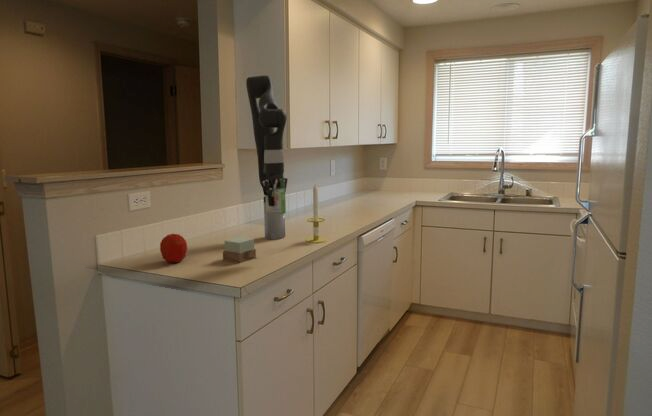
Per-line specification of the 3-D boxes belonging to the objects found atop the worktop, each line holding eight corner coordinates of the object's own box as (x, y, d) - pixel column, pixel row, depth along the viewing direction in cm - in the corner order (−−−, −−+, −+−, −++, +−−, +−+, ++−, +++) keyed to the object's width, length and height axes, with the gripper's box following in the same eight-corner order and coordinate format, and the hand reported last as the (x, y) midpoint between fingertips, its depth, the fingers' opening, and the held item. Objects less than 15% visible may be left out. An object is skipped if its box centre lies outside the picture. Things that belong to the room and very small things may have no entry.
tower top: (239, 246, 187) (239, 237, 187) (254, 249, 183) (253, 239, 182) (225, 250, 181) (224, 240, 180) (239, 253, 176) (239, 242, 176)
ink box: (265, 213, 181) (264, 179, 179) (271, 212, 185) (269, 178, 183) (280, 214, 178) (279, 180, 176) (286, 213, 182) (285, 179, 180)
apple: (156, 261, 180) (154, 232, 178) (180, 257, 187) (178, 229, 185) (168, 266, 173) (166, 236, 171) (192, 261, 180) (191, 232, 178)
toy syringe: (312, 237, 220) (311, 181, 216) (331, 239, 215) (330, 182, 211) (301, 241, 212) (300, 183, 208) (319, 243, 207) (318, 184, 203)
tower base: (239, 255, 189) (239, 246, 188) (255, 258, 184) (255, 249, 183) (223, 260, 181) (222, 250, 181) (239, 263, 176) (239, 253, 176)
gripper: (277, 160, 186) (279, 202, 189) (254, 162, 174) (256, 207, 177) (292, 160, 182) (293, 203, 185) (269, 162, 170) (271, 208, 173)
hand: (275, 205), depth 181 cm, fingers closed on ink box, 4 cm apart
